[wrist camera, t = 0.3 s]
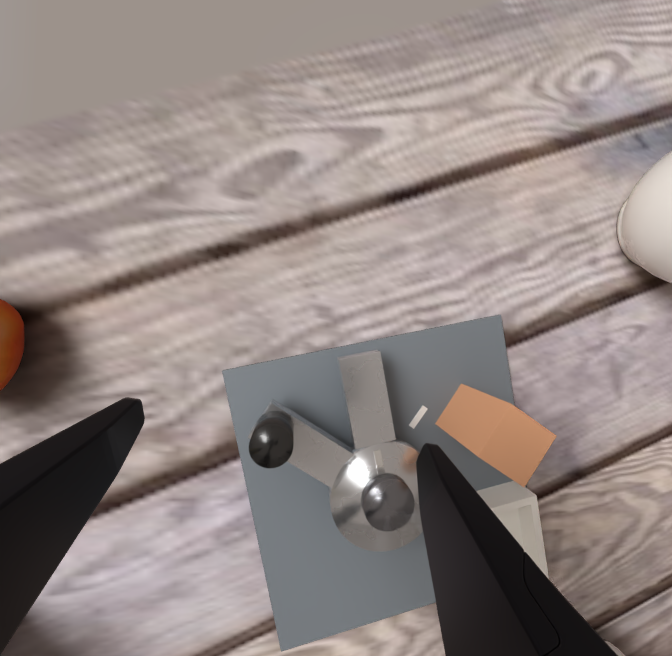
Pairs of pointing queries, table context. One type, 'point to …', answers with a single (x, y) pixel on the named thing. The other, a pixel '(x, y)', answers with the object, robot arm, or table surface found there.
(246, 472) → the faceplate
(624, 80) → the table surface
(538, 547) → the tray
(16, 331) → the fruit
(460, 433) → the block
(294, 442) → the crank wheel
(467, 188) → the table surface
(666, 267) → the lidded bowl
